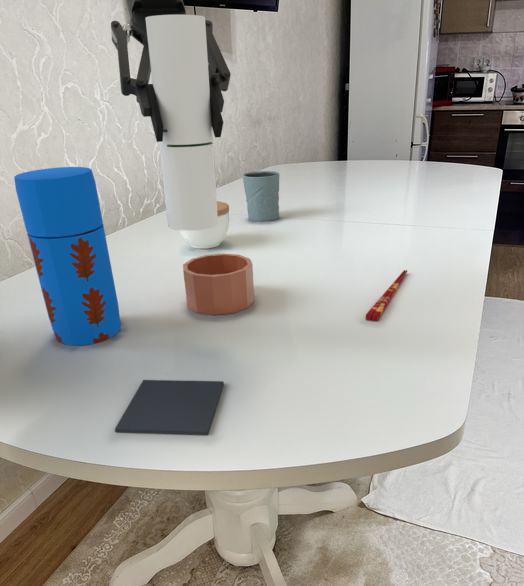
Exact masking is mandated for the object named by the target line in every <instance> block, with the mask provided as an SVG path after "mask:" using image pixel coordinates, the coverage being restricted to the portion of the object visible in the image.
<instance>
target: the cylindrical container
mask: <svg viewBox="0 0 524 586" xmlns="http://www.w3.org/2000/svg"><path fill="white" fill-rule="evenodd" d="M145 19H146V28H147V37H148V46H149V56H150V65H151V74H150V75H151V84H153V87H154V91H155V95H156V99H157V103H158V107H159V111H160V115H161V119H162V122H163V141H162V142H158V147H159V156H160V165H161V174H162V185H163V193H164V203H165V211H166V223H167V227H168V228H169V229H171V230H174V231H175V230H176V231H180V230H202V229H207V228H211V227H214V226H216V225H217V224H218V216H217V201H218V200H217V186H216V183H217V182H216V169H215V153H214V142H213V141H214V137H213V136H214V134H213V129H212V123H211V108H210V88H209V72H208V57H207V41H206V26H205V20H206V16H204V15H198V14H186V15H157V16H149V17H146V18H145Z"/></svg>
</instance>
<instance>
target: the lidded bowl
mask: <svg viewBox="0 0 524 586" xmlns="http://www.w3.org/2000/svg"><path fill="white" fill-rule="evenodd" d="M217 216H218V224H217V225H216V226H214V227H211V228H207V229H202V230H179V232H180V234H181V236H182V238H183V240H184V241H186V243H187V244H189V245H190V247H191V248H193V249H199V250H206V249H208V250H209V249H213V248H217V247H219V246H221V243H222V241H224V239H225V238H226V236H227V234H228V231H229V228H230V205H229V204H228V203H227V202H223V201H219V200H217Z"/></svg>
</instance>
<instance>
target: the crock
mask: <svg viewBox="0 0 524 586" xmlns="http://www.w3.org/2000/svg"><path fill="white" fill-rule="evenodd" d="M253 268H254V266H253V263H252V260H251V258H249V257H247V256H244V255H242V254H237V253H213V254H205V255H201V256H197V257H193V258H191V259H189V260H188V261H186V262H184V263H183V264H182V272H183V280H184V288H185V290H184V291H185V296H186V307H187V309H189V310H191V311H192V312H195V313H197V314H201V315H202V314H204V315H210V316H217V315H229V314H234V313H237V312H240V311H243V310H246V309H248V308H249V307H250V306H251V305H252V304H253V303H254V302H255V287H254V269H253Z"/></svg>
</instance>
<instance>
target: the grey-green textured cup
mask: <svg viewBox="0 0 524 586" xmlns="http://www.w3.org/2000/svg"><path fill="white" fill-rule="evenodd" d="M242 180H243V182H242V183H243V189H244V193H245V201H246V208H247V210H246V211H247V217H248V220H249V221H252V222H259V223H261V222H271V221H275V220H278V219H279V217H280V205H279V201H280V196H279V195H280V193H279V192H280V172H279V171H277V170H276V171H275V170H261V171H260V170H257V171H250V172H245V173H243V174H242Z"/></svg>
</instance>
